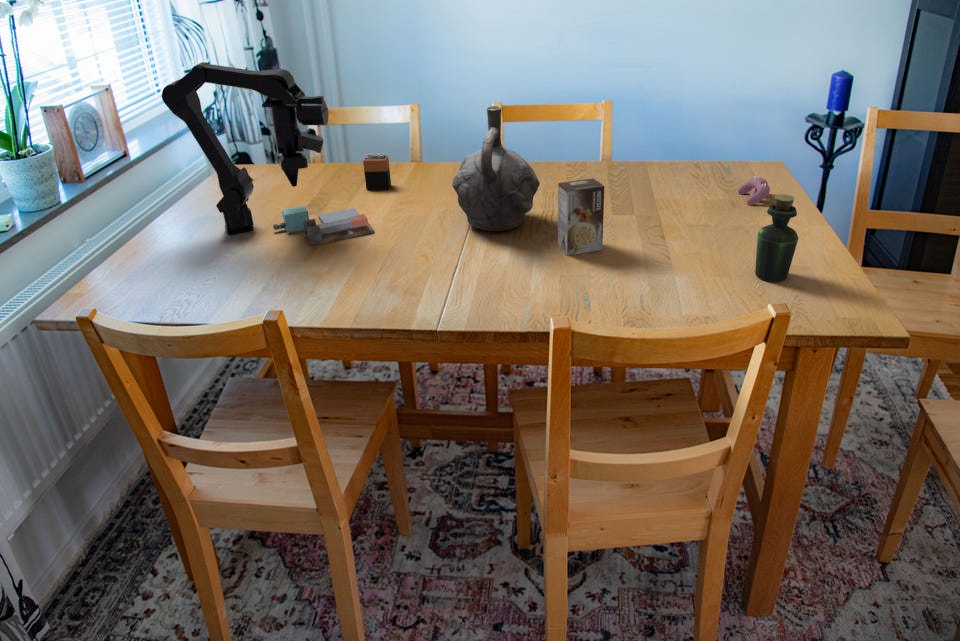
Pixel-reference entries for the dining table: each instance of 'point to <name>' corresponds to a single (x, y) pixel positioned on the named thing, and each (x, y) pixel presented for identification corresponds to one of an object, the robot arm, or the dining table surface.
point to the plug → (293, 219)
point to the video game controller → (755, 190)
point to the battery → (377, 172)
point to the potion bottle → (777, 241)
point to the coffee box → (580, 216)
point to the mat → (337, 215)
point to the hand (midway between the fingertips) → (294, 186)
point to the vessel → (495, 182)
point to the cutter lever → (343, 224)
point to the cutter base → (318, 238)
